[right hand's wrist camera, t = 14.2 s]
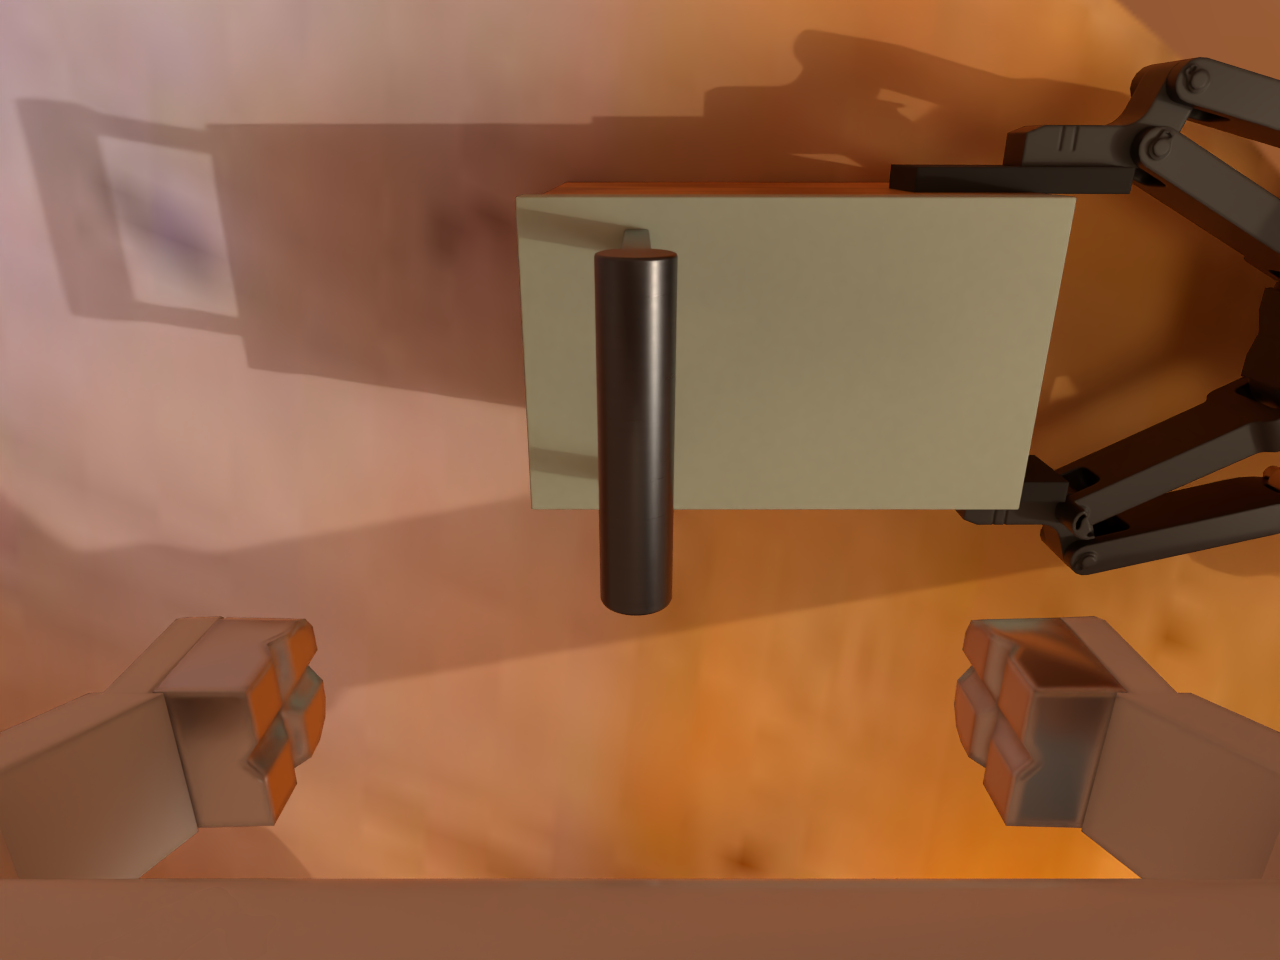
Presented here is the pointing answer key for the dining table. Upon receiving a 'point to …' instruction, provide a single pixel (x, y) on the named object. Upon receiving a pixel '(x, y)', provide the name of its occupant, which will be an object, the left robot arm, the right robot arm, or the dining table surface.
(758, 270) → the lid
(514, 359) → the dining table surface
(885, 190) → the chest
